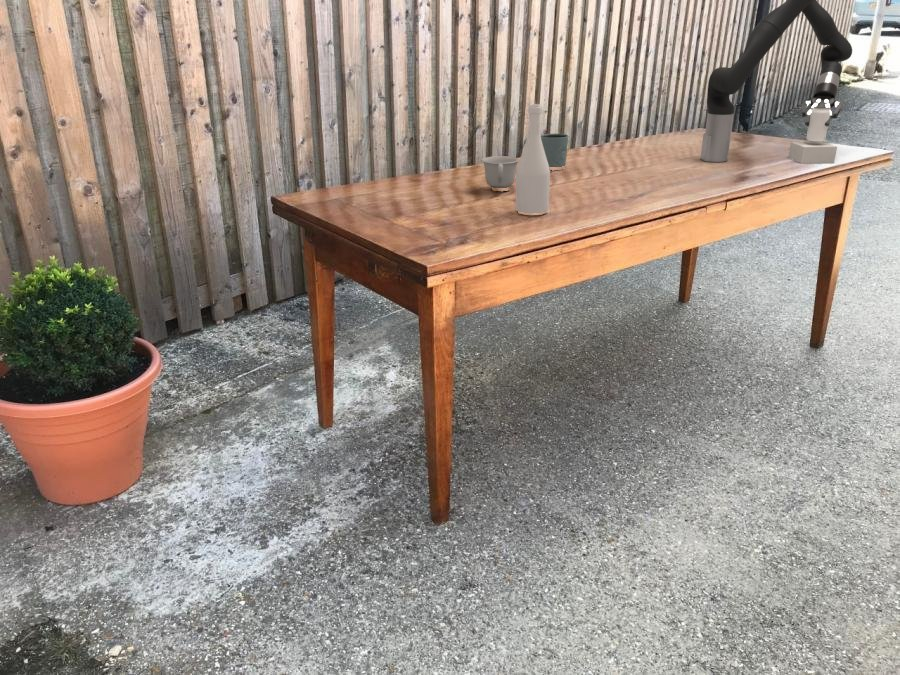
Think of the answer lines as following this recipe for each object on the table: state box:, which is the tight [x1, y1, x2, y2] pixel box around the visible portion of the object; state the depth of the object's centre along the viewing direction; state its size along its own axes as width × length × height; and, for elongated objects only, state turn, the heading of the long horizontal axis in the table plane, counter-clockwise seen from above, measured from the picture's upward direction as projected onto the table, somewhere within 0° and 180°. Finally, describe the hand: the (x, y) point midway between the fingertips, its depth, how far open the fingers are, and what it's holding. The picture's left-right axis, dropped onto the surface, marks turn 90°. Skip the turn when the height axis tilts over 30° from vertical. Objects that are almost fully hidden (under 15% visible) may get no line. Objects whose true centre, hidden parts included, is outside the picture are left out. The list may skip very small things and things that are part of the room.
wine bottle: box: [515, 103, 551, 213], centre depth 202 cm, size 10×10×30 cm
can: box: [805, 106, 830, 142], centre depth 266 cm, size 6×6×12 cm
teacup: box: [481, 155, 520, 188], centre depth 232 cm, size 12×15×10 cm
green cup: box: [540, 133, 569, 167], centre depth 264 cm, size 10×10×12 cm
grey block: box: [787, 140, 838, 165], centre depth 271 cm, size 12×12×6 cm
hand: (816, 125), depth 265 cm, fingers closed on can, 5 cm apart
